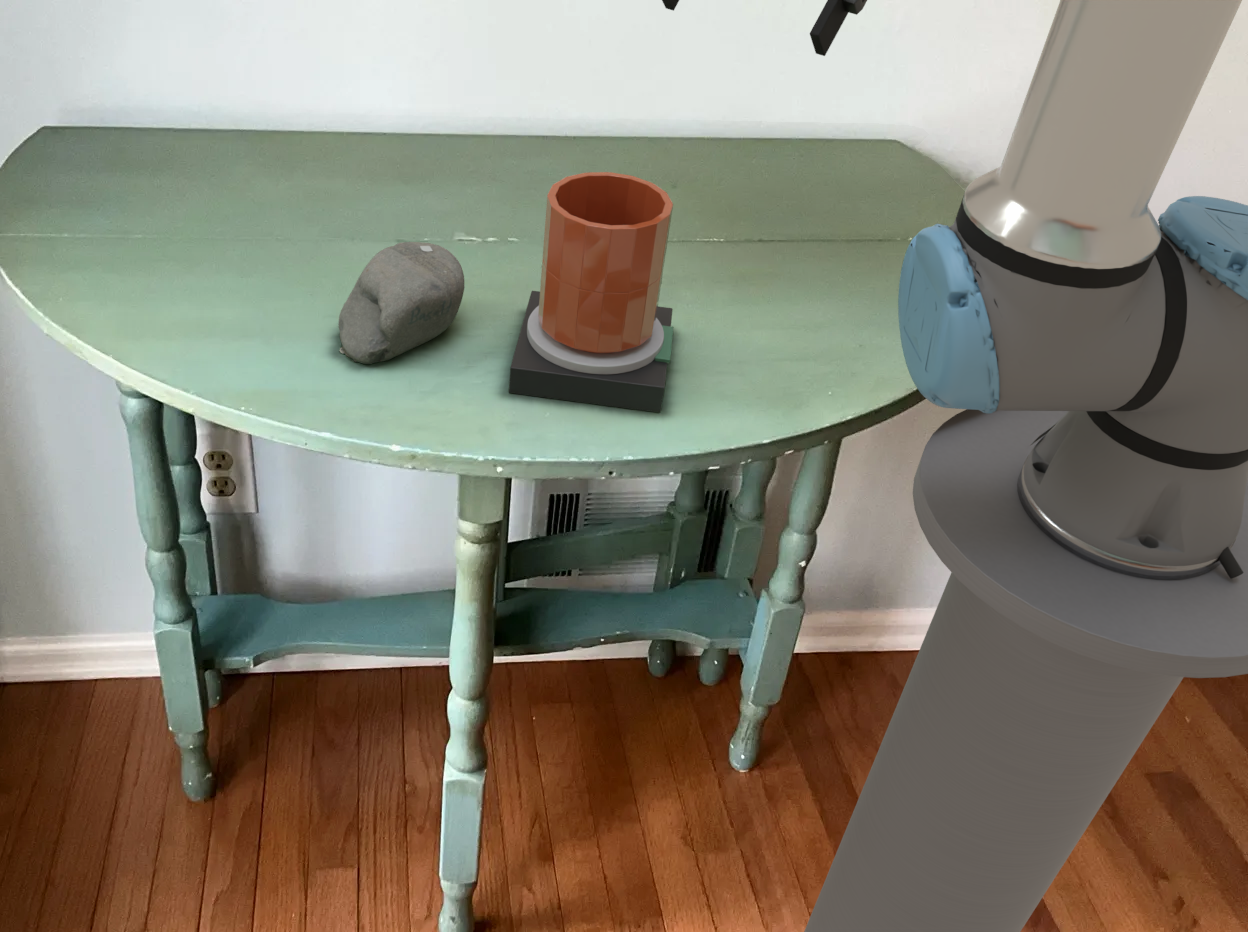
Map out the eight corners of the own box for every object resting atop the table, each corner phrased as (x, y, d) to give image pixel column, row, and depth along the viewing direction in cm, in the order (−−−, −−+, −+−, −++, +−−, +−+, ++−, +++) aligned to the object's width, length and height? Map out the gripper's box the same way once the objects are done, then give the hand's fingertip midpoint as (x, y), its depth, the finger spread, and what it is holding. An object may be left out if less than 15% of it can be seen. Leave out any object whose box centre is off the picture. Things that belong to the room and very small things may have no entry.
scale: (671, 332, 101) (676, 299, 99) (663, 413, 93) (668, 379, 90) (529, 314, 102) (532, 281, 100) (508, 393, 93) (510, 358, 91)
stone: (311, 321, 99) (357, 212, 95) (395, 339, 105) (442, 237, 101) (361, 376, 94) (412, 262, 90) (447, 392, 100) (498, 286, 96)
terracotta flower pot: (675, 341, 94) (697, 213, 87) (580, 370, 91) (594, 239, 83) (610, 288, 100) (624, 163, 93) (517, 313, 96) (525, 185, 89)
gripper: (1030, -161, 89) (892, 92, 90) (742, -218, 100) (621, 9, 100) (1029, -238, 82) (880, 36, 83) (720, -290, 93) (591, -47, 94)
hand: (738, 22), depth 92 cm, fingers open, 13 cm apart
